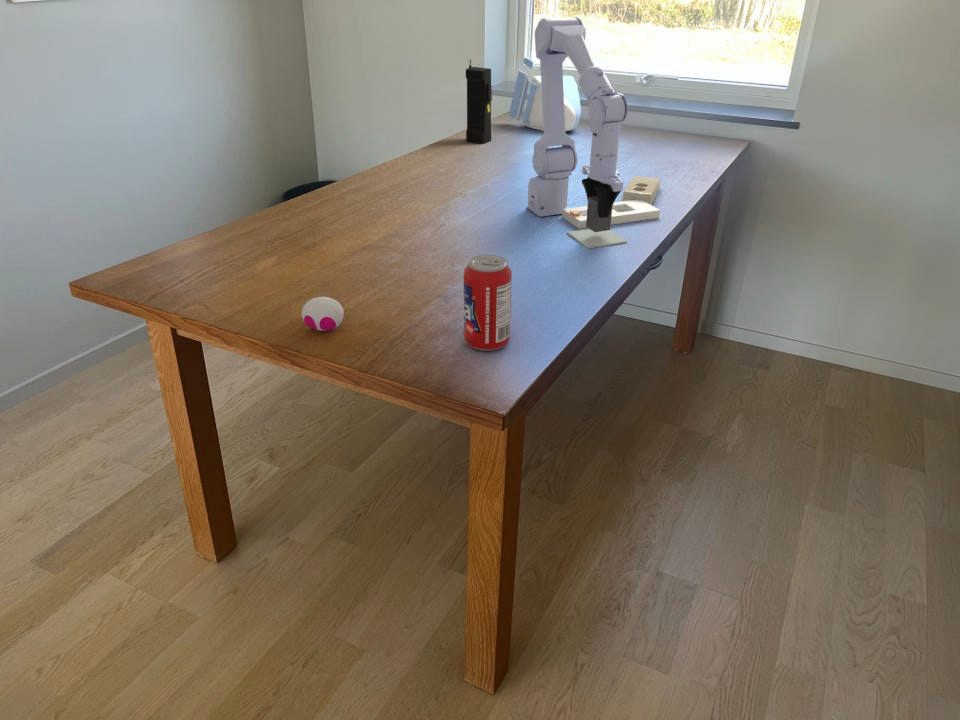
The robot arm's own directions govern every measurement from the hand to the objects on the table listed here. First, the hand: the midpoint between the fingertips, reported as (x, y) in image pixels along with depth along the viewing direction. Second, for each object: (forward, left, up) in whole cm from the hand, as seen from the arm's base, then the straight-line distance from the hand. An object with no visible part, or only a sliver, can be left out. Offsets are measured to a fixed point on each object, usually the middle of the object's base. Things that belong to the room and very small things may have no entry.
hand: (598, 213), depth 169 cm
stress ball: (-67, -22, -6) cm, 71 cm away
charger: (0, 0, -3) cm, 4 cm away
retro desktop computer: (+37, +100, -6) cm, 107 cm away
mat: (0, 0, -6) cm, 6 cm away
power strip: (+10, +11, -6) cm, 16 cm away
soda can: (-42, -37, -6) cm, 56 cm away
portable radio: (+7, +91, -6) cm, 91 cm away
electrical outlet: (+26, +22, -6) cm, 35 cm away
